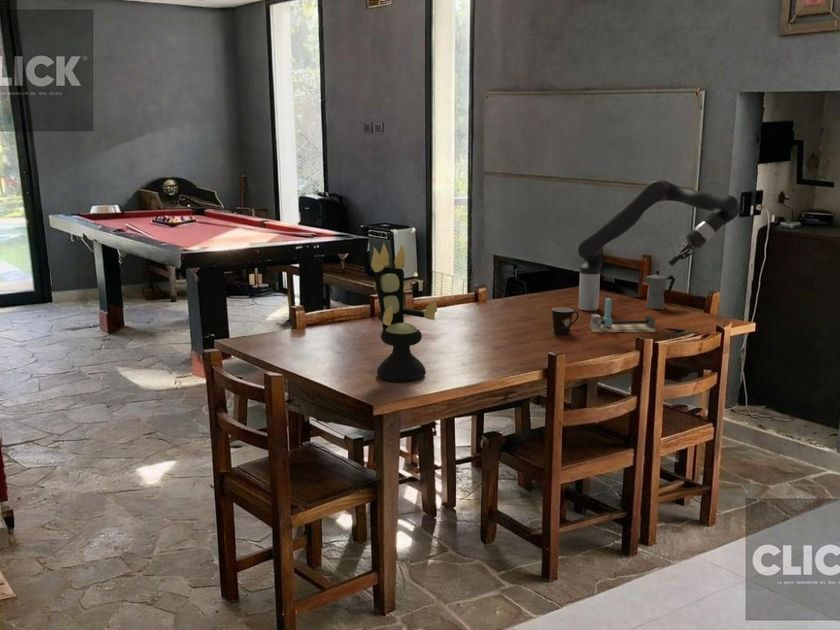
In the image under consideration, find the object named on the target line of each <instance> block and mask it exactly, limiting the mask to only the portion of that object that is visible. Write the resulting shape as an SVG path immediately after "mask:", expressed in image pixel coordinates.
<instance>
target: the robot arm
mask: <svg viewBox="0 0 840 630" xmlns="http://www.w3.org/2000/svg"><path fill="white" fill-rule="evenodd" d="M665 201H668V202H669V201H670V202H678V203H682V204H685V205H688V206H691V207H693V208H697V209H699V210H705V211H709V212H711V213H710V214H709V215H708V216H707V217H705V218H704V220H702V221H701V222H699V223H698V224H697V225H696V226H695V227H694V228H693V229H692V230H691V231H690V232H689V233H688V234H687V235H686V237H685V238H686V241H685V242H683V243H681V244H678V245H677V247H676V248H675V250H674V252H673V255H674V256H672V258H670V259H669V260H668V261H667V263H668V264H669V265H670V266H671V267H673V266H674V265H676V264H677V263H678V262H679V261H683V260H684V259H687V258H688V257H690V256H691V255H693V254H694V250H695V249H697V250H698V249H701V248H702V247H703V246H704V245H705V244H706V243H707V242H708V241H709V240H710V239H712V237H713V236H714V235H715V234H716V233H717V231H719V230H720V229H721V228H722V227H723V226H725V225H726V224H728V223H730V222H731V221H733V220H734V219H735V218H736V217H737V216H738V215H739V214H740V211H741V208H740V207H741V206H740V205H739V201H738V199H737V198H736V197H735V196H733V195H731V194H719V193H718V194H713V193H710V192H705V191H704V192H703V191H699V190H695V189H690V188H685V187H682V186H679V185H676V184H675V183H671V182H669V181H667V180H666V179H665V180H663V179H654V180H652V181H650V182H649V183H648V184H647V185H646V186H645V187H644V188H643V189H642V190H641V192H639V194H637V196H636V197H634V199H632V200H631V201H630V202H628V203H627V204H626V205H625V206H623V207H622V208H621V209H619V210H618V211H617V212H616V213H615V214H613V216H612V217H610V218H609V219H608V220H607V221H606V222H605V223H603V224H602V226H601V227H599V229H597V231H595V232H594V233H593V234H591V235H590V236H588V237H587V238H585V239H584V240H582V241H581V242H580V243H579V245H578V247H577V253H578V256H579V257H580V258H582V259H583V261H582V264H581V266H580V267H579V285H578V287H579V288H578V310H581V311H590V312H591V311H598V310H599V300H600V278H601V269H602V266H603V258H604V257H603V256H604V246H605V245H606V244H608V243H611V242H612V241H613V240H615V239H617V238H619V237H620V236H622V235H623V234H625V233H626V232H627V231H629V230H630V229H631V228H632V227H634V226H635V225H636V224H637V222H639V220H640V218H641V217H642V216H643V214H644V213H645V211H647V210H648V209H649V208H651V207H652V206H653V205H655V204H657V203H658V202H665ZM714 210H719V211H718V212H716V213H715V212H712V211H714ZM597 309H598V310H597Z"/></svg>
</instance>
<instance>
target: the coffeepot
mask: <svg viewBox="0 0 840 630" xmlns="http://www.w3.org/2000/svg"><path fill="white" fill-rule="evenodd" d="M643 280H645V282H646V284H647V286H648V294H647V295H648V297H647V300H646V304H645V308H646V307H647V308H650V309H649V310H651V309H662V308H665V306H666V305H665V297H664V292H665V293H670V292H672V288H673V286H674V284H675V282H676V279H675V277H674V276H673V275H662V274H660V271H659V270H656V271H655V274H652V275H647V276H644V277H643ZM668 280H670V283H669V284H670V285H669V286H668V290H666V284H667V281H668ZM647 308H646V309H647ZM665 309H666V308H665Z"/></svg>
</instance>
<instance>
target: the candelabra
mask: <svg viewBox="0 0 840 630" xmlns="http://www.w3.org/2000/svg"><path fill="white" fill-rule="evenodd" d="M389 259H390V254H389V252H388V250H387V246H386V245H385V243H383V244H382V248H381V251H380V253H379V252H378V250H377V248H375V247H373V253H372V258H371V265H370V266H371V268H372V270H373V272H374V283H375V288H376V289H375V290H376V293H377V299H378V302H379V303H378V304H379V308H380V311H379V312H378V313H377V317H378V320H379V321H381V324H382V331H381V334H380V339H381V341H382V342H383V343H384V344H385V345H388V346H392V352H391V353H390V354H389V355H388V356H387V357H386V358H385V359H384V360H383V361H382V362H381V363H380V364H379V366H378V367H377V371H376V374H377V375H378V376H379V378H380V379H382V378H383V379H382V380H384V379H385V381H388V380H389V382H395V381H397V383H405V382H406V383H407V382H414V380H415V381H418V380H420V379H422V378H423V377H425V375H426V374H427V372H426V367H425V366H424V364H423V362H421V361H420V359H418V358H417V357H416V356H414V354H412V352H411V346H415V345H416V344H417V345H418V344H419V343H420V342H421V341H422V337H423V335H422V332H421V331H420V329H418V328H417V327H416V326H414V325H412V324H410V323H407V322H405V319H404V318H405V317H404V315H406V316H412V317H418V318H425V319H426V320H431V321H434V320H435V316H436V315H435V314H436V313H437V312H438V306H437V305H438V304H437V299H436V298H434V300H433V301H430V302H429V303H428V304H427V306H426V308H425V309H424V310H420V309H414V308H404V295H405V294H404V290H405V289H404V287H405V272H404V268H405V261H406V252H405V249H404V245H403V244H401V245H400V248H399V250H398V252H397V254H396V256H395V259H394V261H393V262H394V267H392V266H391V267H390V266H389V265H390V261H389Z"/></svg>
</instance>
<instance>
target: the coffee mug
mask: <svg viewBox="0 0 840 630" xmlns="http://www.w3.org/2000/svg"><path fill="white" fill-rule="evenodd" d="M551 312H552V314H551V315H552V327H553V334H554V335H557V336H568V335H570V332H571V327H572V325H573V324H574V323H575V322H576V321H577V320H578V319H579V317H580V316H579V312H578V311H575V310H573V309H572V308H568V307H553V308H551ZM574 314H576V318H575V320H572V319H573V315H574Z"/></svg>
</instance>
